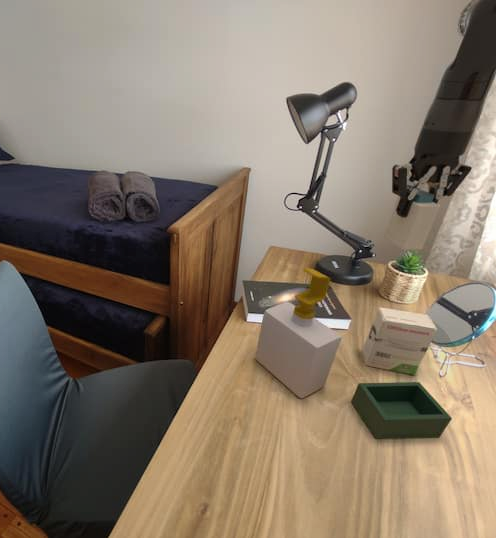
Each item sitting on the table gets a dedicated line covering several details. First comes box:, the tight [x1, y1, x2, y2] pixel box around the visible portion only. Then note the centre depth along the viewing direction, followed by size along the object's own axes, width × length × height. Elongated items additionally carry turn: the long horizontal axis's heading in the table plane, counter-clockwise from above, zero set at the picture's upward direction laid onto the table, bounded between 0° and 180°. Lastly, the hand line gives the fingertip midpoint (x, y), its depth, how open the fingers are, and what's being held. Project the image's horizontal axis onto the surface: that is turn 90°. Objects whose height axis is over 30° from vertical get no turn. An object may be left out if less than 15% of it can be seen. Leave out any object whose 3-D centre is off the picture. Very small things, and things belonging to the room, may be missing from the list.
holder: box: [350, 381, 453, 440], centre depth 60 cm, size 11×7×5 cm
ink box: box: [361, 306, 438, 376], centre depth 70 cm, size 9×5×12 cm, turn 70°
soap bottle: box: [254, 268, 342, 399], centre depth 65 cm, size 12×7×23 cm, turn 27°
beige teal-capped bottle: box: [383, 189, 441, 251], centre depth 73 cm, size 4×6×11 cm, turn 1°
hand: (412, 215), depth 73 cm, fingers closed on beige teal-capped bottle, 4 cm apart
